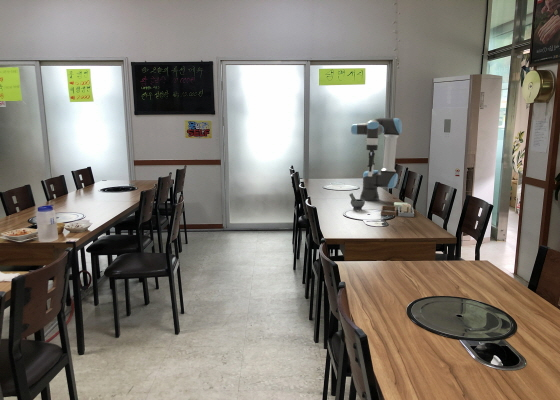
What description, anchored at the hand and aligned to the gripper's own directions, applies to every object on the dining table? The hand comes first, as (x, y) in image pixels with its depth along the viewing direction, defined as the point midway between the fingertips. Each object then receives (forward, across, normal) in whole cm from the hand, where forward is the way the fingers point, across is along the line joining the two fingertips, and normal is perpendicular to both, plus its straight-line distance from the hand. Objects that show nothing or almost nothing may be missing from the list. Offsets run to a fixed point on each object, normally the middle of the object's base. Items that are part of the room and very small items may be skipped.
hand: (370, 175), depth 314 cm
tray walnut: (+26, 0, +14) cm, 29 cm away
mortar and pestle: (+26, -3, -9) cm, 27 cm away
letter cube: (+26, -1, +25) cm, 36 cm away
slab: (+25, -17, +22) cm, 37 cm away
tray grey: (+26, -1, +25) cm, 36 cm away
